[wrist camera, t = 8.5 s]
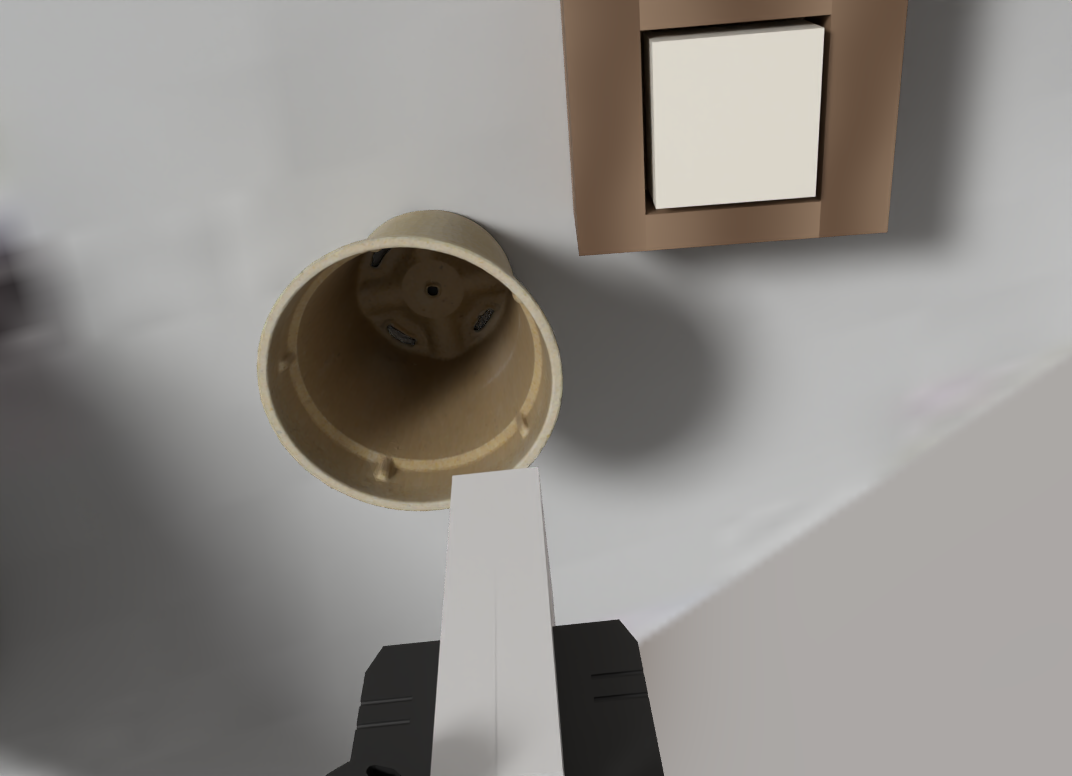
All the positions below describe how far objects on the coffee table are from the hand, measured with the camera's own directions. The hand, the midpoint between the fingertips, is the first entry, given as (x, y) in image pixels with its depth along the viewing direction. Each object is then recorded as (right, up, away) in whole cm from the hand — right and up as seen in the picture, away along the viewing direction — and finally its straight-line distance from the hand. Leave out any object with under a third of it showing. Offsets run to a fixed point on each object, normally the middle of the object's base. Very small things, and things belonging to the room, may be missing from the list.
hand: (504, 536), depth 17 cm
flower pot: (-3, +7, +20) cm, 22 cm away
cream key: (+7, +12, +14) cm, 20 cm away
